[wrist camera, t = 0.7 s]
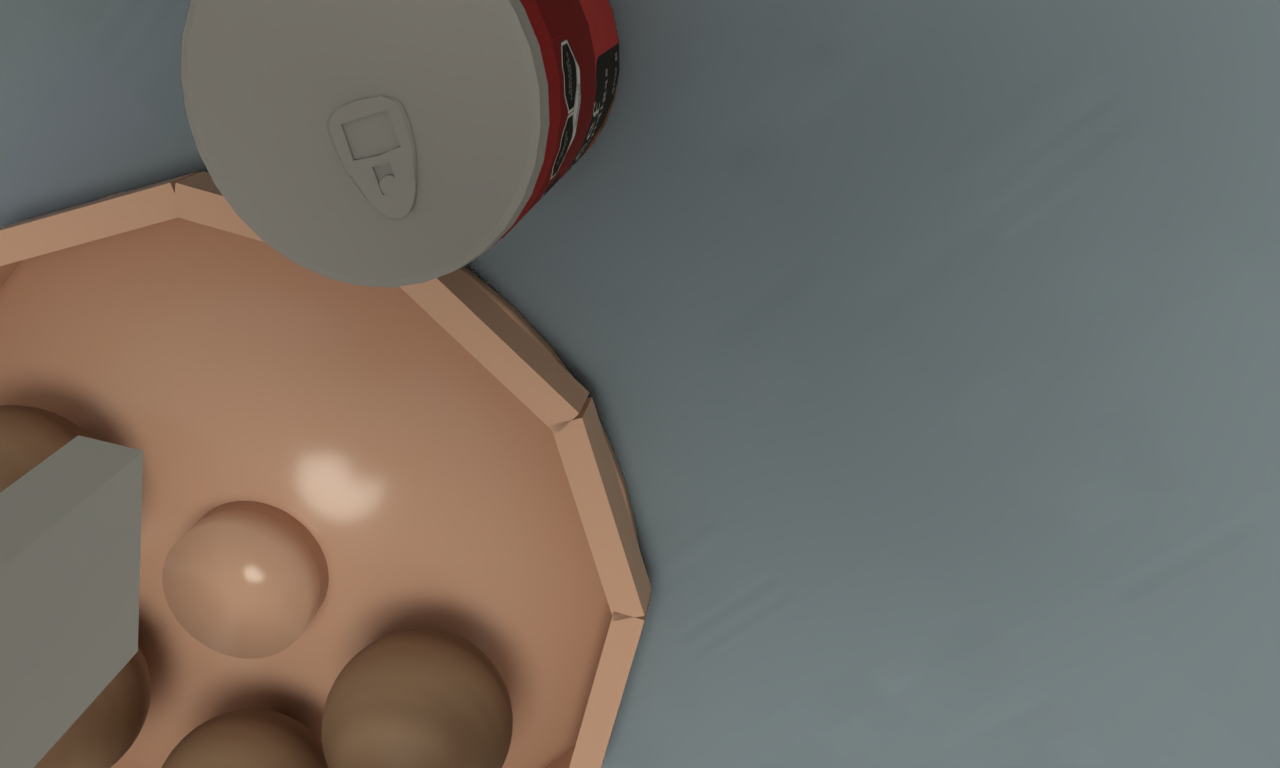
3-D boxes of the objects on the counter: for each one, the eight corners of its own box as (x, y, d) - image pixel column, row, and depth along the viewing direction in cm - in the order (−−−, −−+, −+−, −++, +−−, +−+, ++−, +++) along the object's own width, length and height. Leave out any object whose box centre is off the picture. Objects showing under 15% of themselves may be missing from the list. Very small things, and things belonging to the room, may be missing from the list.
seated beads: (-95, 409, 41) (-239, 487, 35) (396, 287, 37) (321, 353, 31) (122, 839, 46) (27, 964, 41) (568, 774, 42) (531, 903, 37)
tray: (-218, 287, 41) (-281, 309, 38) (502, 83, 35) (480, 95, 33) (98, 894, 49) (62, 943, 46) (726, 809, 43) (721, 860, 41)
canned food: (464, 233, 37) (328, 353, 27) (307, -2, 35) (97, 29, 25) (679, 100, 34) (620, 175, 24) (524, -160, 33) (390, -196, 22)
